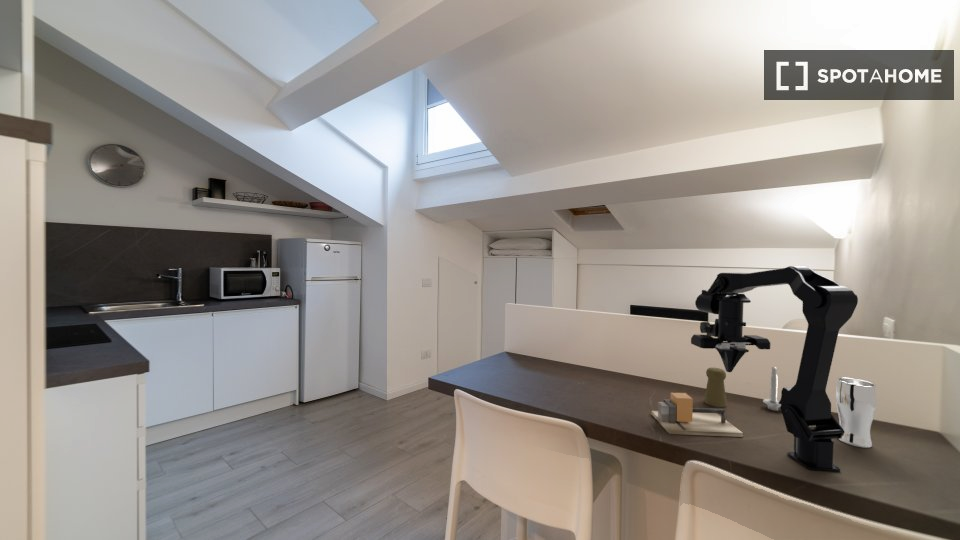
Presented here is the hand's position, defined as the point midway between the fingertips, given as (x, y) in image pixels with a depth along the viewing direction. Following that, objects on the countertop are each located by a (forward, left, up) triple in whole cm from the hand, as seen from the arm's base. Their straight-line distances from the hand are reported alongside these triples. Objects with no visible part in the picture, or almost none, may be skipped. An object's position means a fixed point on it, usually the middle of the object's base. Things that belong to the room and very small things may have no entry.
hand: (728, 371), depth 103 cm
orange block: (-6, +15, -12) cm, 20 cm away
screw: (+7, -17, -13) cm, 23 cm away
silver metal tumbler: (-12, -23, -13) cm, 29 cm away
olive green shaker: (+10, -2, -13) cm, 17 cm away
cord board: (-6, +12, -13) cm, 18 cm away
